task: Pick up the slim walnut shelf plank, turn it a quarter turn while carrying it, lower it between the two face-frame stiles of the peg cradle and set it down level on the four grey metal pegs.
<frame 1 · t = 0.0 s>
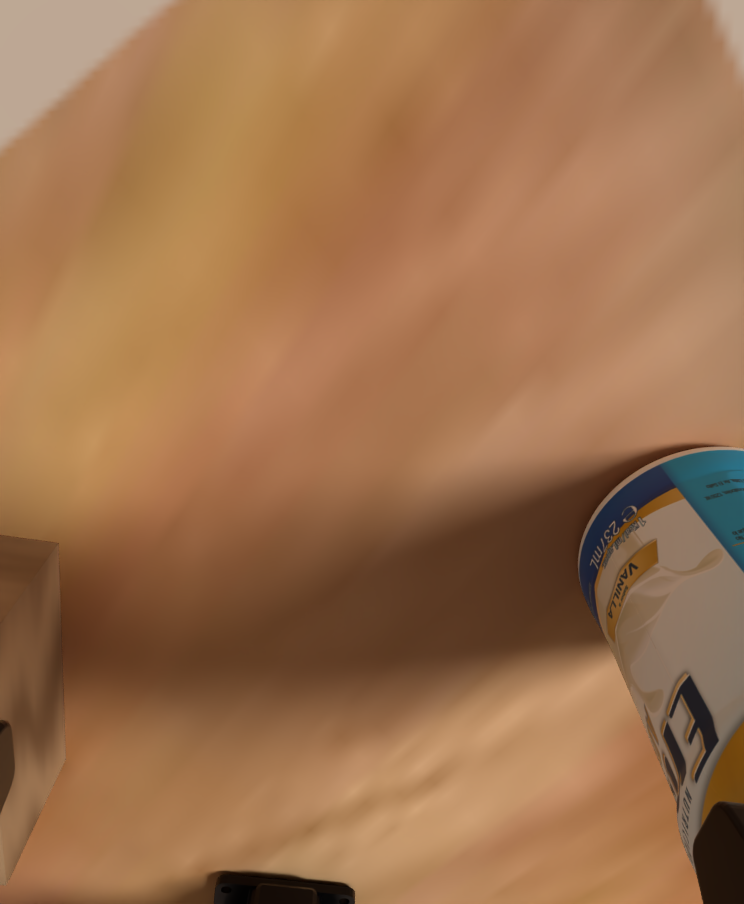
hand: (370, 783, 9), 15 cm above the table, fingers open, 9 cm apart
plank: (11, 651, 27), on the table
beverage bottle: (687, 540, 25), on the table
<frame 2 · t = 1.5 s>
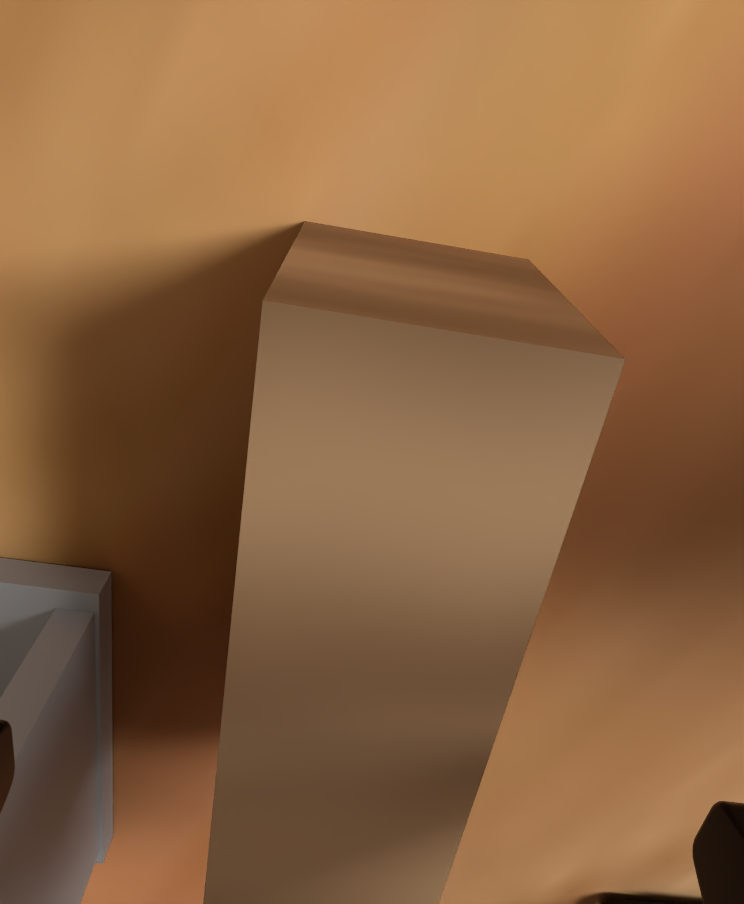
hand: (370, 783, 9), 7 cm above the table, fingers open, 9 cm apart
plank: (367, 502, 15), on the table
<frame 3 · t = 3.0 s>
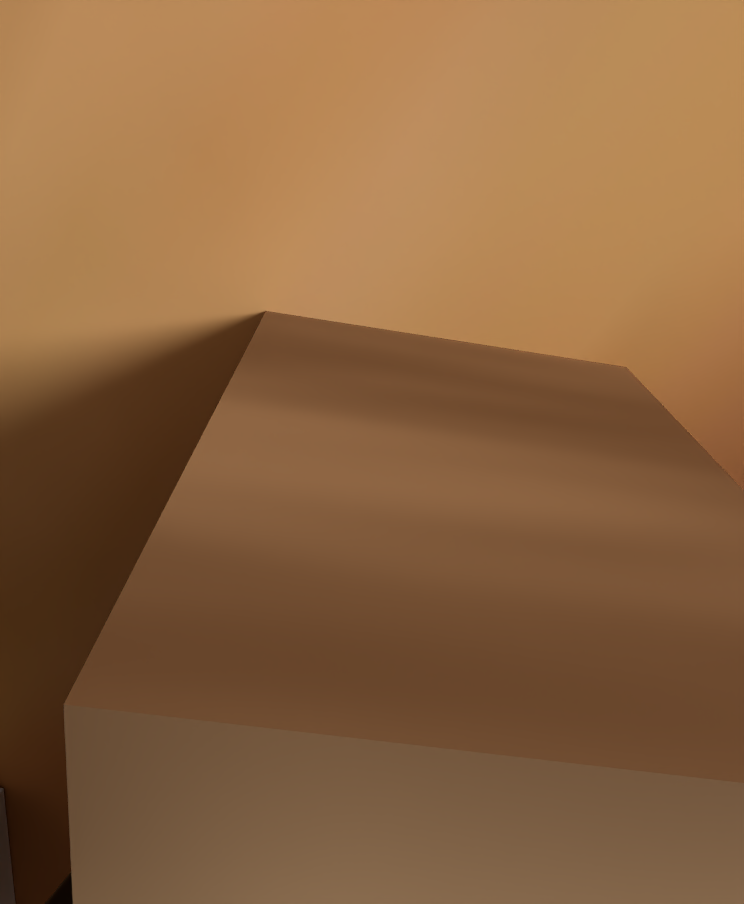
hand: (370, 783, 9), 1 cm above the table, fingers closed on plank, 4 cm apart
plank: (370, 707, 10), on the table, touching gripper
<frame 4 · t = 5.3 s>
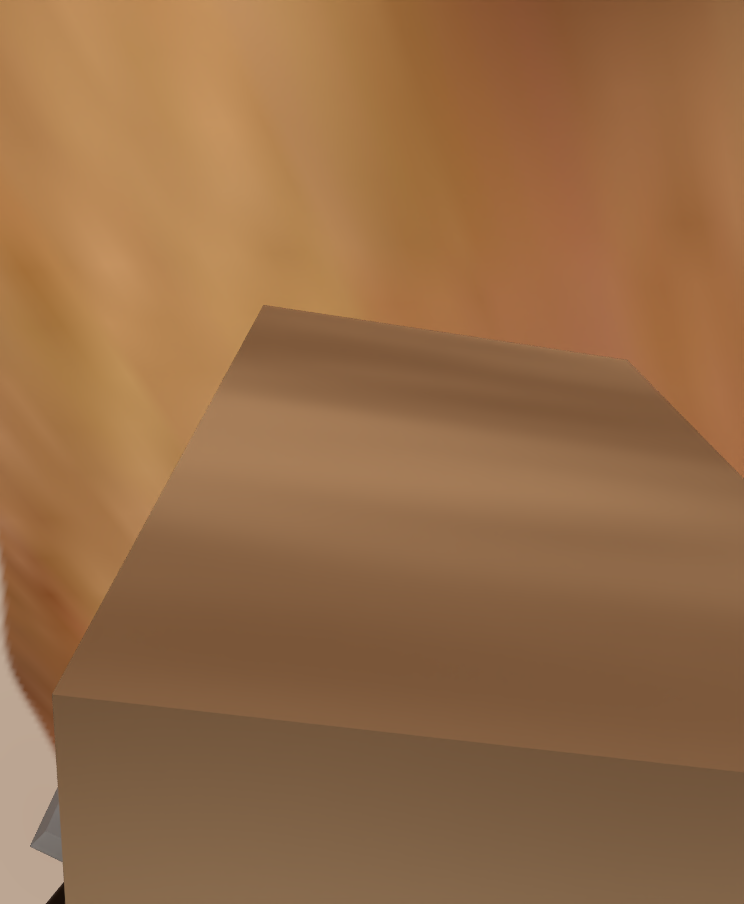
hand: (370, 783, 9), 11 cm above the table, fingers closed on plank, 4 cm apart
peg cradle: (343, 608, 22), on the table
plank: (371, 704, 10), point 10 cm above the table, touching gripper
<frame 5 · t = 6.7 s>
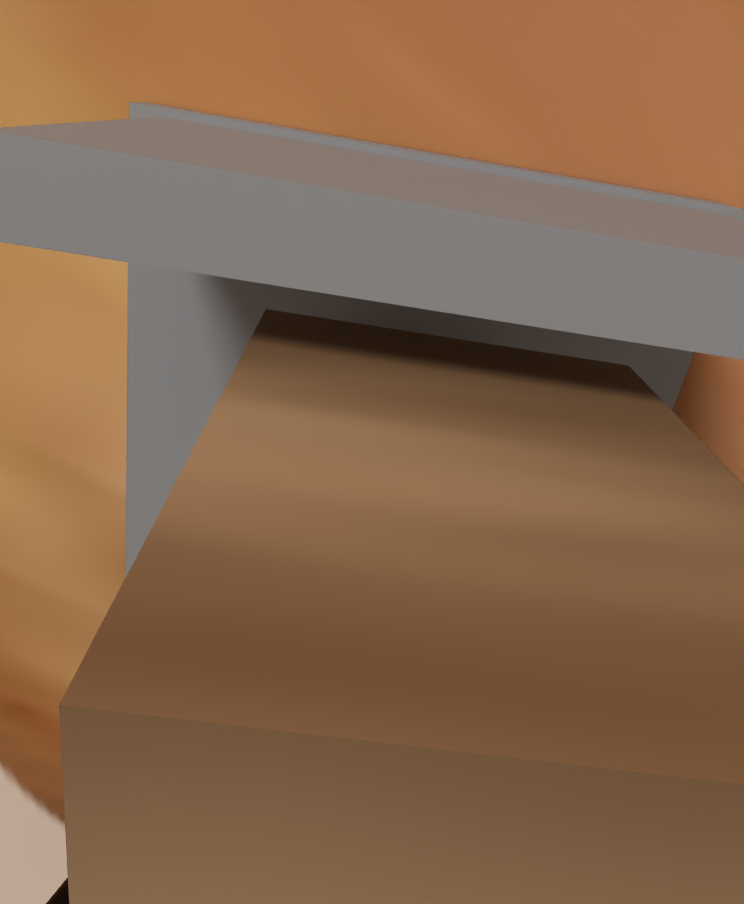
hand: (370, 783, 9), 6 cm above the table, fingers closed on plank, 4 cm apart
peg cradle: (369, 544, 14), on the table
plank: (370, 707, 10), point 4 cm above the table, touching gripper
when the fingers open (5 cm above the table, at t = 7.6 s): plank stays where it is, resting on peg cradle.
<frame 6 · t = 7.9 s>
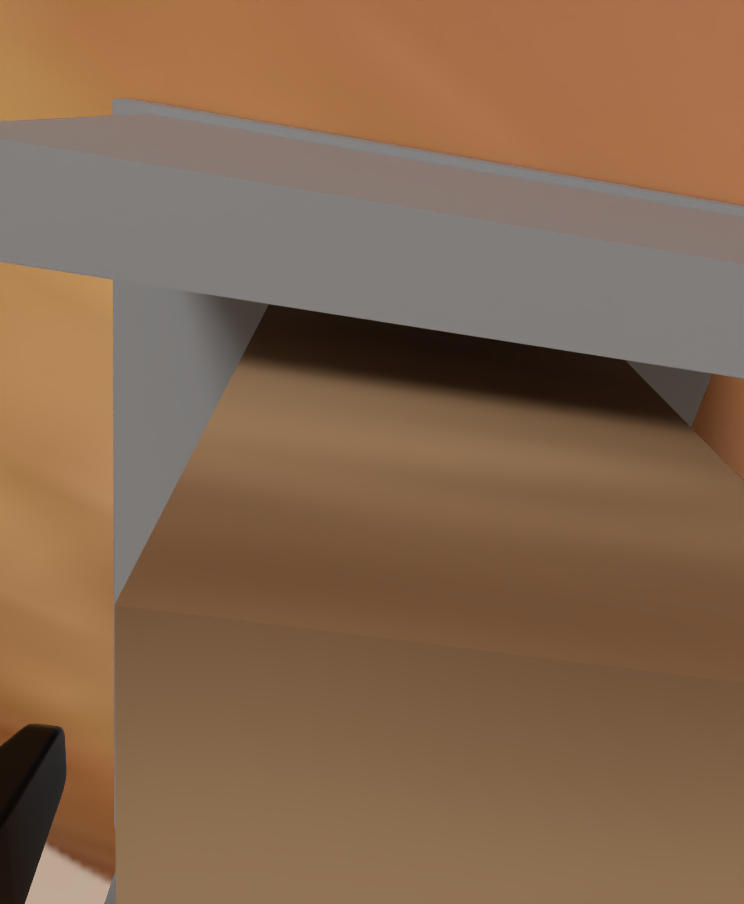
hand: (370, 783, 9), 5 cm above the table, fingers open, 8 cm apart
peg cradle: (370, 564, 13), on the table
plank: (371, 678, 11), point 3 cm above the table, touching peg cradle
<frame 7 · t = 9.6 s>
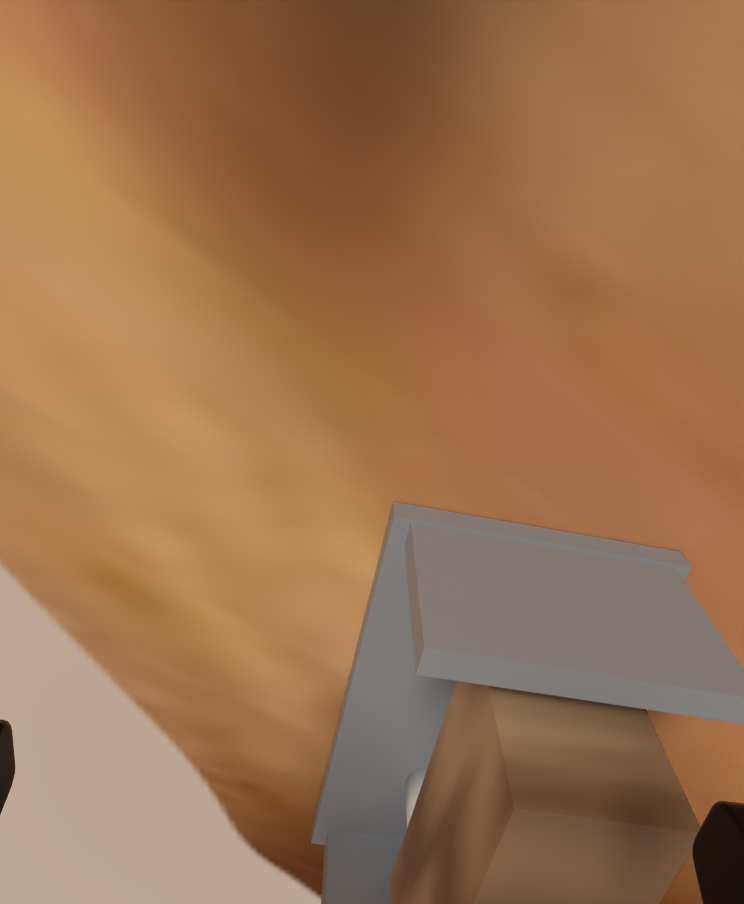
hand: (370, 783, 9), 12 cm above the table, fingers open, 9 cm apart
peg cradle: (476, 702, 24), on the table
plank: (491, 775, 22), point 3 cm above the table, touching peg cradle
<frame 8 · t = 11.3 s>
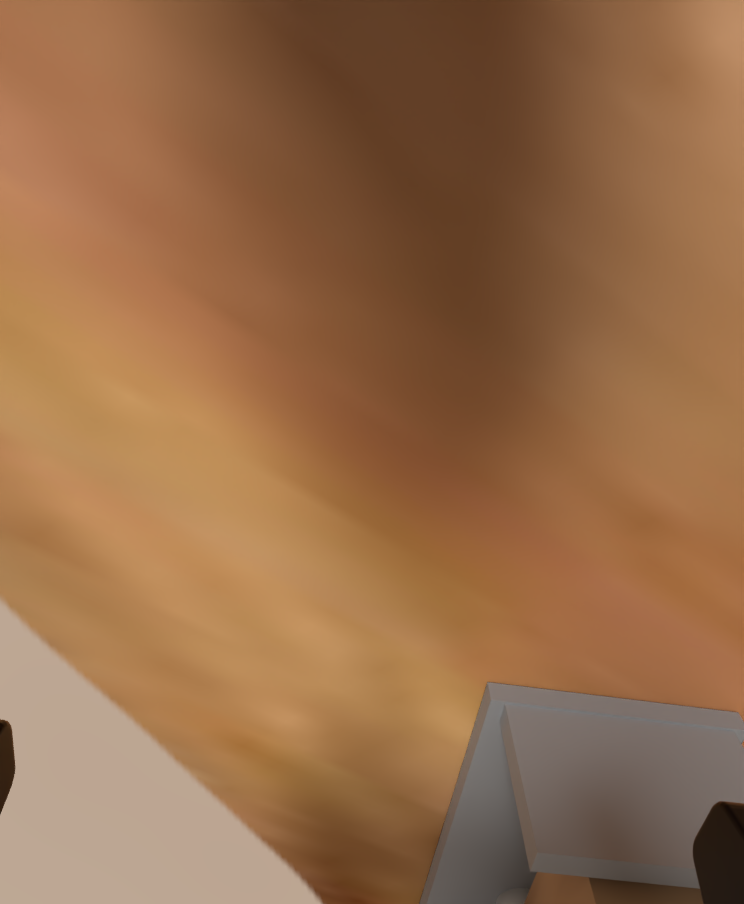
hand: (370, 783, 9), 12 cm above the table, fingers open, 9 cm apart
peg cradle: (557, 832, 28), on the table
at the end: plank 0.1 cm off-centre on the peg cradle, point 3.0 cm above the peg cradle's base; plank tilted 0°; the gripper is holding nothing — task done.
